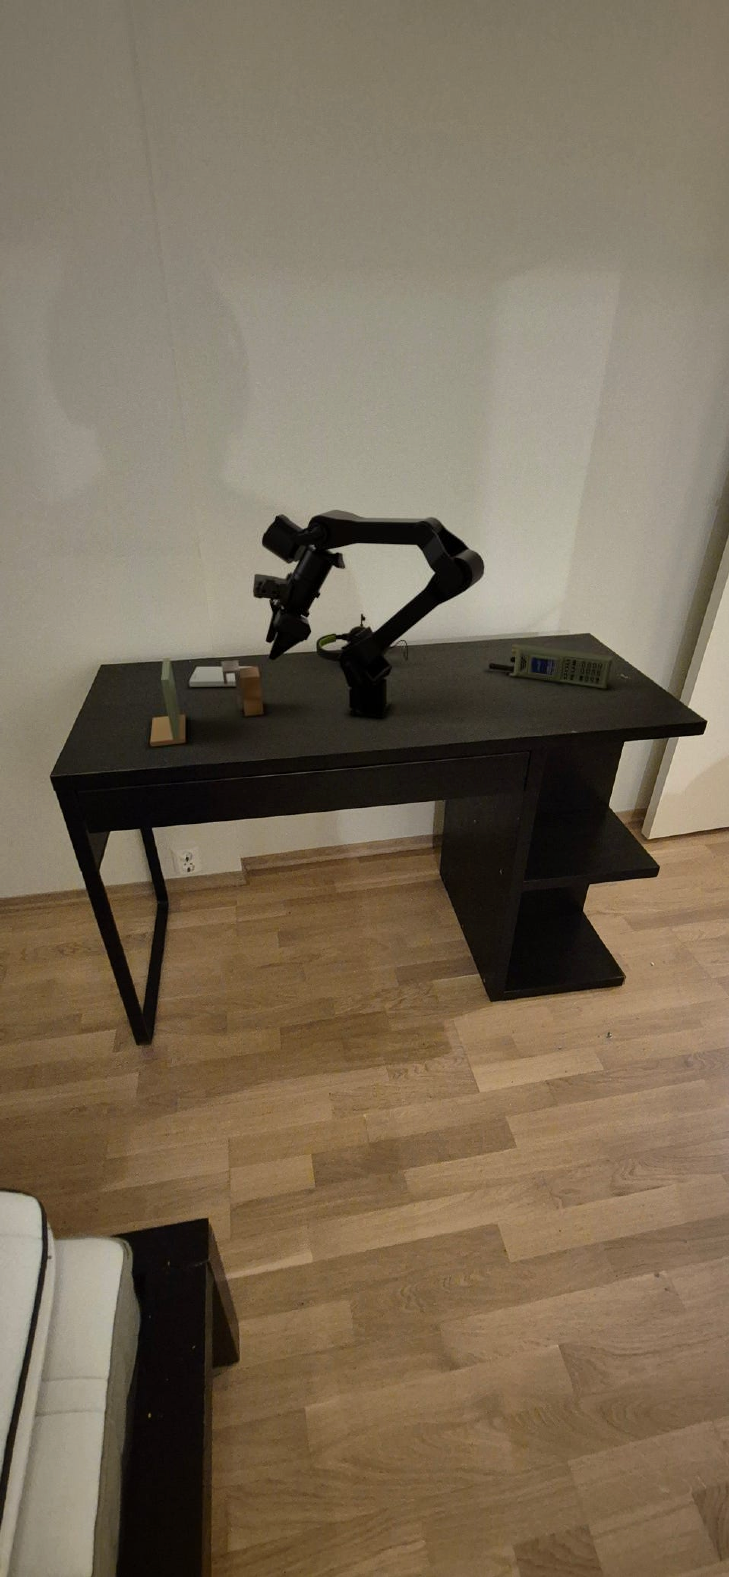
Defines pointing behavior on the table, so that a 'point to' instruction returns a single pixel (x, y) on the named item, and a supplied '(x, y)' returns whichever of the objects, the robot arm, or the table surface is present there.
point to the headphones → (346, 637)
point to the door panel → (173, 724)
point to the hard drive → (211, 677)
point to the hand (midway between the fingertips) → (269, 650)
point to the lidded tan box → (245, 687)
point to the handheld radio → (559, 666)
